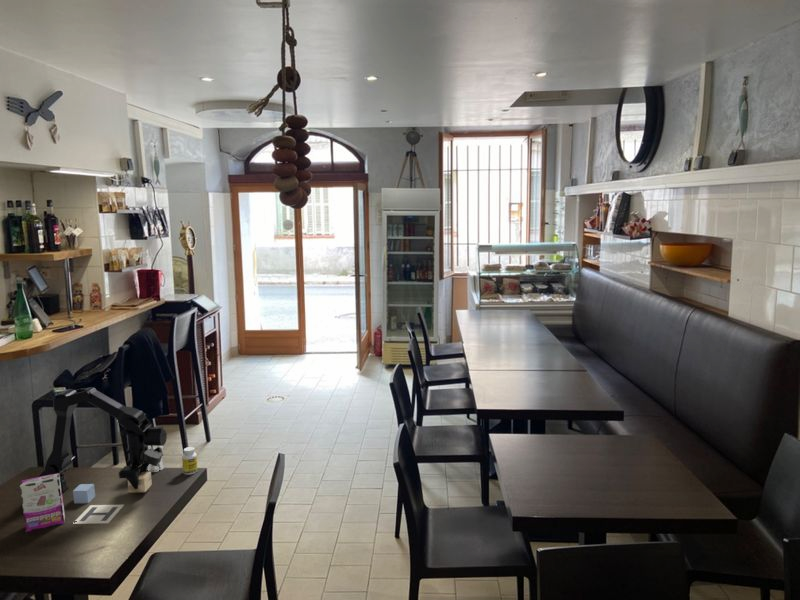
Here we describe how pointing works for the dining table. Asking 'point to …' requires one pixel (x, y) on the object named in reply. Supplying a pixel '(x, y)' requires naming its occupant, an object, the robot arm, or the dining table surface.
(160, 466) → the beer glass
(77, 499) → the blue cube
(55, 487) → the candy bar box
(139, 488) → the oak block
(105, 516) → the letter board
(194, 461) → the supplement bottle
